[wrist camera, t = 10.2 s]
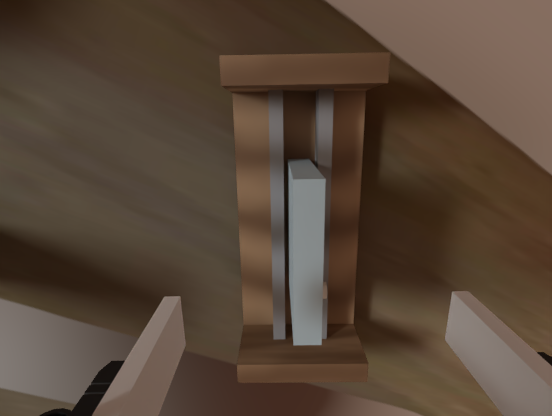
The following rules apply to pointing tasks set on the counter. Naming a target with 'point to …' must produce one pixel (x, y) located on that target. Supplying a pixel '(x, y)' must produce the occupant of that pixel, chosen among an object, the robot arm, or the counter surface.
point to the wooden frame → (274, 203)
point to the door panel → (306, 250)
